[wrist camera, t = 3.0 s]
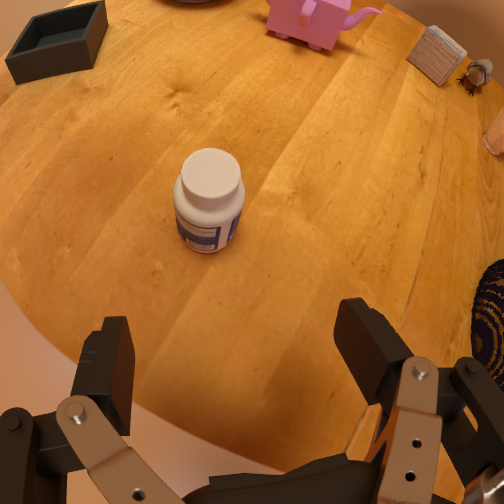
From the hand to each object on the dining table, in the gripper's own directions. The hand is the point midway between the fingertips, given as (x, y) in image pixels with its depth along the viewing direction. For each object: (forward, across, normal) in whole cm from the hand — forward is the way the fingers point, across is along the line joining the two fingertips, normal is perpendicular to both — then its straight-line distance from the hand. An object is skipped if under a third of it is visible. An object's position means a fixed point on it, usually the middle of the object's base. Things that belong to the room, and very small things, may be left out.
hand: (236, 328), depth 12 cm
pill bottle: (+19, 0, +4) cm, 20 cm away
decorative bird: (+42, -55, -18) cm, 71 cm away
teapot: (+42, -16, -19) cm, 49 cm away
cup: (+30, -50, -6) cm, 59 cm away
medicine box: (+40, -40, -17) cm, 59 cm away
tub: (+40, +21, -17) cm, 49 cm away
